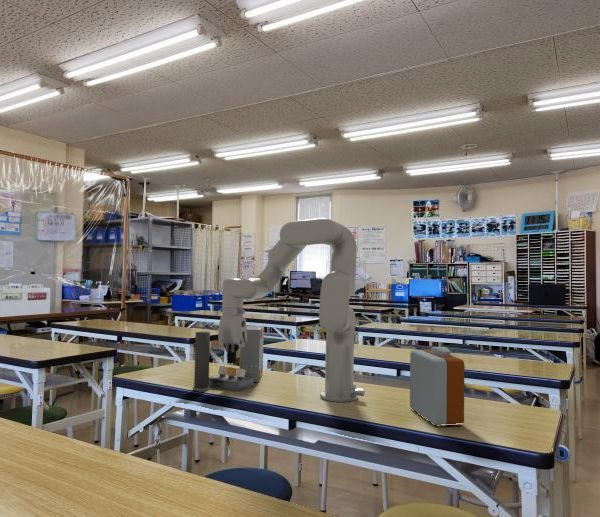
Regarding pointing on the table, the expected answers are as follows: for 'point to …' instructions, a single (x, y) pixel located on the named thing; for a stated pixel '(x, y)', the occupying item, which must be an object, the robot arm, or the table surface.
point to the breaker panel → (230, 382)
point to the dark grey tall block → (202, 361)
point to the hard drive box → (253, 353)
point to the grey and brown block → (437, 385)
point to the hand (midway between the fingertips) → (231, 362)
